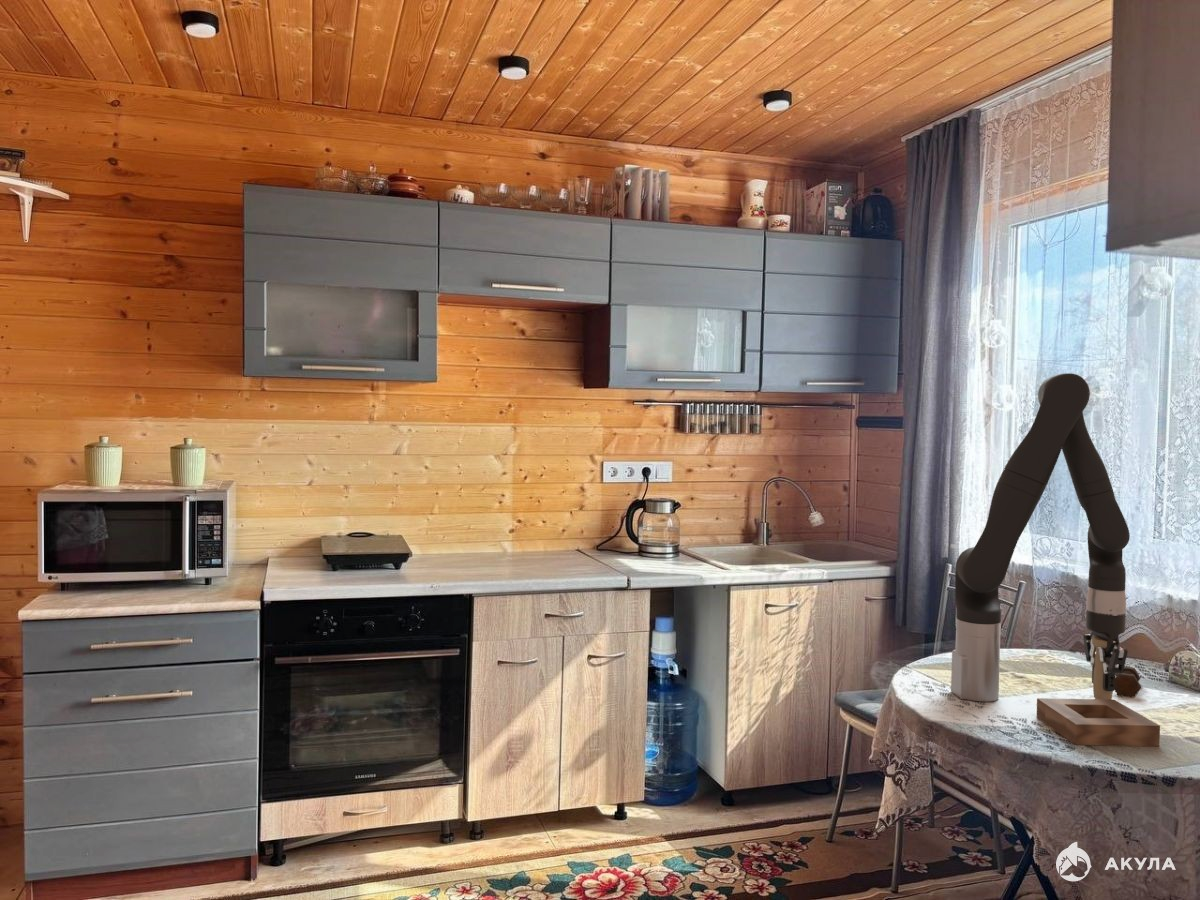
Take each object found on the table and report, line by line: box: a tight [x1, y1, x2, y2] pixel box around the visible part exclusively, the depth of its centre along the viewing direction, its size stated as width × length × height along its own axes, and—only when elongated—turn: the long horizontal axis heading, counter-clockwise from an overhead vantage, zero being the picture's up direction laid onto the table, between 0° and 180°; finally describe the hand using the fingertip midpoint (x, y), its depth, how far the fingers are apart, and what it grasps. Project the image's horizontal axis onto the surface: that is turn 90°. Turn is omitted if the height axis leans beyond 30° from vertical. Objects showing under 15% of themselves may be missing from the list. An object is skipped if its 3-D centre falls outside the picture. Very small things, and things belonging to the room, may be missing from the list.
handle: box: [1092, 635, 1114, 699], centre depth 198 cm, size 5×6×15 cm
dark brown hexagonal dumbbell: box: [1114, 665, 1142, 699], centre depth 212 cm, size 6×5×15 cm
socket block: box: [1036, 697, 1161, 747], centre depth 183 cm, size 16×16×4 cm
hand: (1103, 687), depth 198 cm, fingers closed on handle, 4 cm apart
